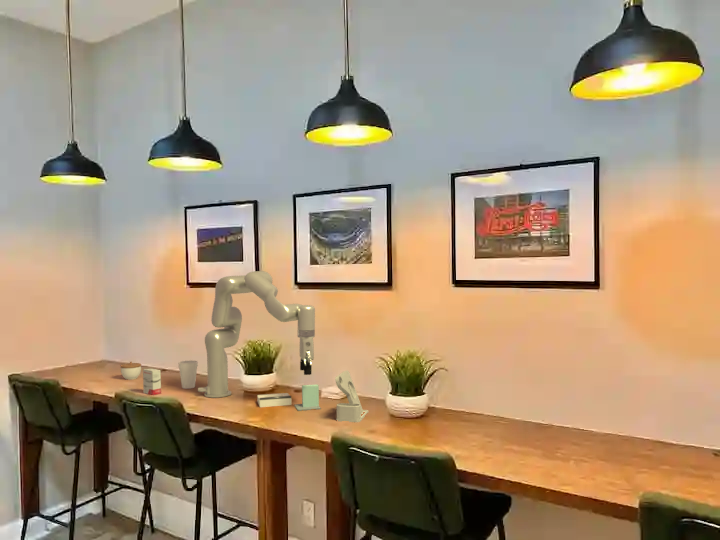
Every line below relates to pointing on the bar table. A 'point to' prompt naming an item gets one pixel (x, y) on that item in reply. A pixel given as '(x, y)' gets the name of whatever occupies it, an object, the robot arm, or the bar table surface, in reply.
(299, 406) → the mat
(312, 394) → the ticket
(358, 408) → the phone holder
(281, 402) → the box
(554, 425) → the bar table surface
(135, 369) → the lidded jar
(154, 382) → the ink box
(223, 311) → the robot arm
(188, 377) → the foam cup
